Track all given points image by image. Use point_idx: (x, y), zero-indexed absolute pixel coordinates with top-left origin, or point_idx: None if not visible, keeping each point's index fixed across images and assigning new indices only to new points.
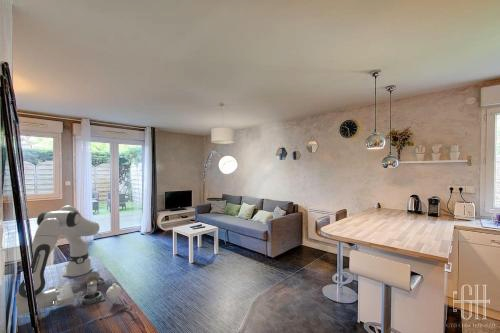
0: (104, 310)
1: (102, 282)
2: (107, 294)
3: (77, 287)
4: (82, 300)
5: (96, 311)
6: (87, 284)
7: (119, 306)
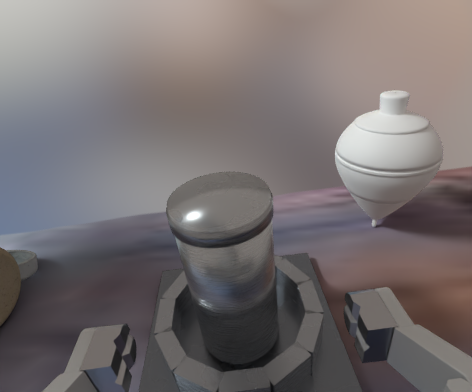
0: (458, 262)
1: (36, 260)
2: (428, 170)
3: (117, 372)
4: (276, 390)
5: (468, 303)
6: (226, 228)
7: (420, 208)
